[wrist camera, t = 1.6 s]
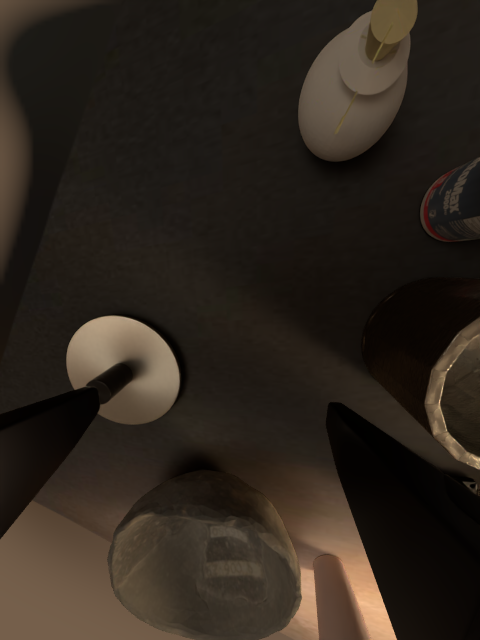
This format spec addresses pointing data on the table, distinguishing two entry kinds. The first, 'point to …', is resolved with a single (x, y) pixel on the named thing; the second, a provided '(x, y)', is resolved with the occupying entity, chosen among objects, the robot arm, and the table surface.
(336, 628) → the smoothie
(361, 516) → the robot arm
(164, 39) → the table surface
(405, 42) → the ornament
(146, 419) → the lid
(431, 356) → the tin
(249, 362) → the table surface
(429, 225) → the pill bottle
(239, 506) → the bowl
